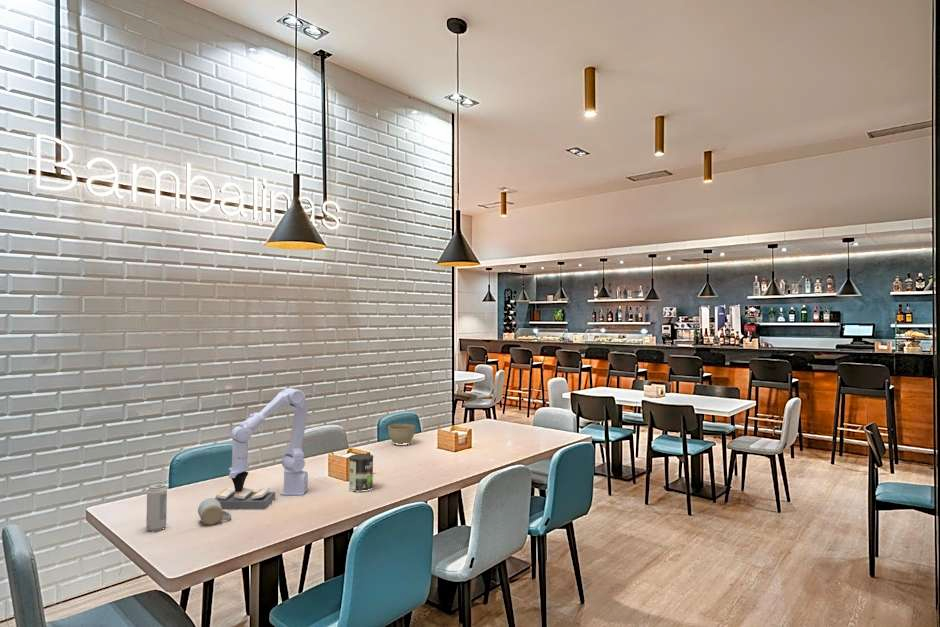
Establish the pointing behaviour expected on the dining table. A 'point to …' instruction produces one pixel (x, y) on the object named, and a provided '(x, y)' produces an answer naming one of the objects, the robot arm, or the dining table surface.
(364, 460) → the coffee can
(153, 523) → the energy drink can
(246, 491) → the rocker middle
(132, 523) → the dining table surface
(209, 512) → the ceramic mug
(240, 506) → the switch panel
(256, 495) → the rocker
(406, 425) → the planter bowl
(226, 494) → the rocker
